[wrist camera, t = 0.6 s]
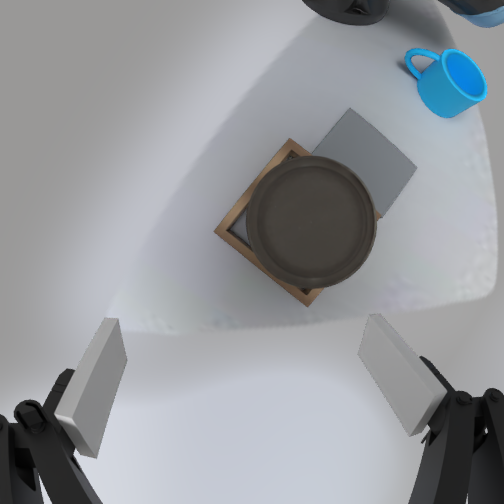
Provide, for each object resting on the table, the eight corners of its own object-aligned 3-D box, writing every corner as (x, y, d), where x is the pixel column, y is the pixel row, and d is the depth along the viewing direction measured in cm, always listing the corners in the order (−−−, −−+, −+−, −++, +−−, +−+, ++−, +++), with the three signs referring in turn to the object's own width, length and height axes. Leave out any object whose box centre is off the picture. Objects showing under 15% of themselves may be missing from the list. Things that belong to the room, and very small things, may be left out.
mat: (349, 109, 34) (350, 107, 33) (415, 168, 34) (417, 167, 33) (309, 156, 35) (310, 155, 34) (380, 217, 35) (382, 217, 34)
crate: (288, 144, 35) (289, 137, 32) (373, 215, 35) (381, 215, 32) (218, 230, 36) (213, 231, 33) (304, 300, 36) (307, 307, 33)
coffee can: (295, 280, 36) (309, 315, 22) (238, 220, 36) (217, 219, 22) (354, 224, 35) (401, 226, 21) (298, 164, 35) (314, 129, 21)
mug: (462, 92, 32) (489, 74, 23) (453, 128, 33) (483, 113, 24) (402, 49, 32) (423, 22, 24) (388, 82, 33) (410, 56, 25)
